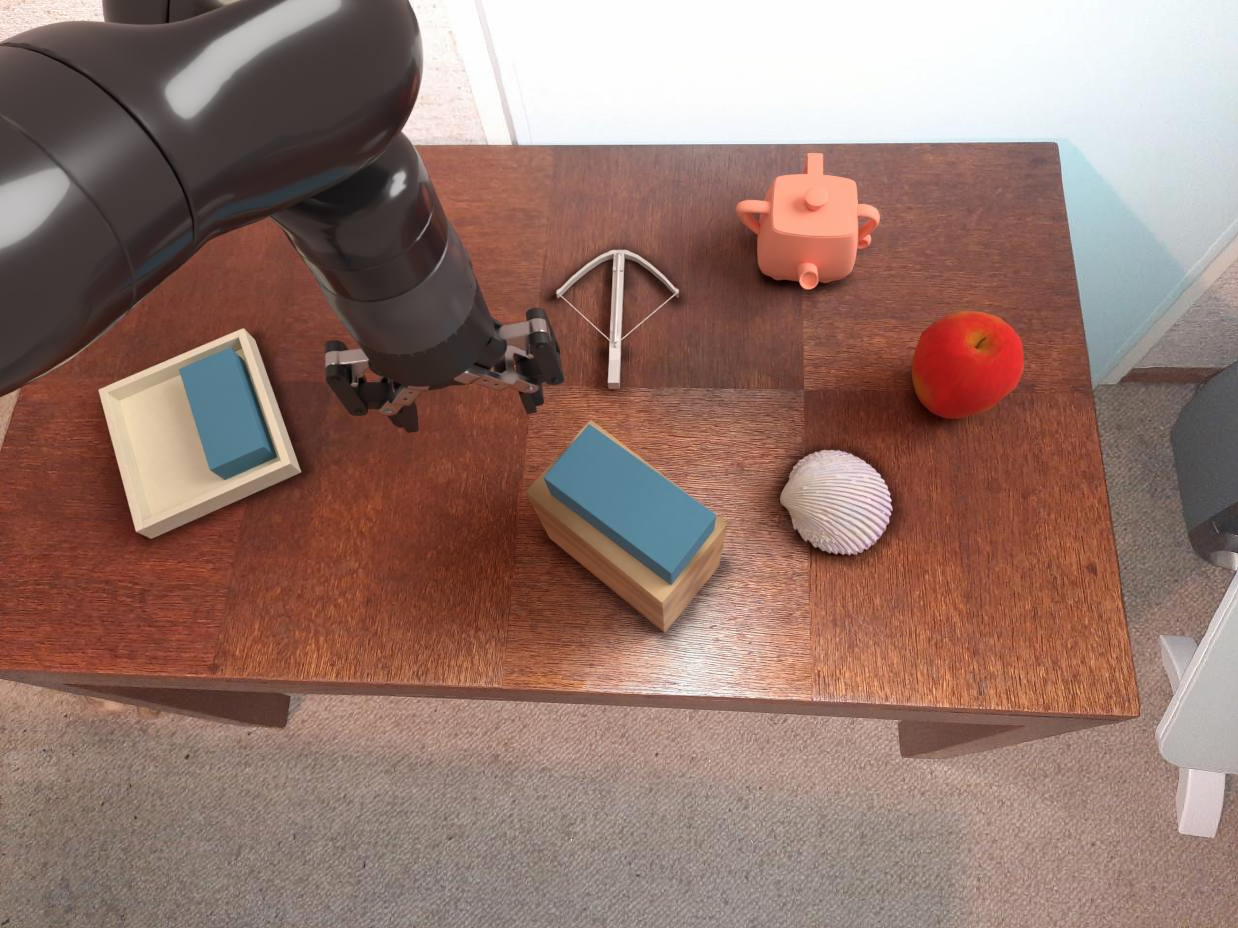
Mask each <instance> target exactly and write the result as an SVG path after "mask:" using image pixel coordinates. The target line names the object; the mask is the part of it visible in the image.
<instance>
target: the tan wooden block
mask: <svg viewBox="0 0 1238 928" xmlns="http://www.w3.org/2000/svg"><path fill="white" fill-rule="evenodd" d="M588 424H590V425H592V426H593V427H595V428H596V429H597V430H599V431H600V432H602V433H603V434H604V435H606V436H607V437H608V438H610V439H611V440H613V441H614V442H615V443H617V444H618V445H620V446H621V447H622V448H624V449H625V450H627V451H628V452H629V453H631V454H632V455H634V456H635V457H636V458H638V459H639V460H641V461H642V462H643V463H645V464H646V465H648V466H649V467H650V468H652V469H653V470H655V471H656V472H657V473H659V474H660V475H662V476H663V477H664V478H666V479H667V480H669V481H670V482H671V483H673V484H674V485H676V486H677V487H678V488H680V489H681V490H683V491H684V492H685V493H687V494H688V495H690V496H691V497H692V498H694V499H695V500H697V499H696V498H695V497H694V496H693V495H691V494H690V493H688V492H687V491H686V490H684V489H683V488H682V487H681V486H679V485H678V484H676V483H675V482H673V481H672V480H671V479H670V478H668V477H667V476H666V475H664V473H662V472H660V471H659V470H658V469H657V468H655V467H654V466H653V465H651V464H650V463H648V462H647V461H646V460H645V459H643V458H642V457H641V456H639V454H637V453H636V452H634V451H633V450H632V449H631V448H629V447H628V446H627V445H625V444H624V443H623V442H621V441H620V440H618V439H617V437H614V436H613V435H612V434H611V433H609V432H608V431H606V430H605V429H604V428H602V427H601V425H599V424H598V423H596V422H595V421H594V420H592V419H590V420H588V421H587V423H585V425H584V426H583V427H582V429H580V430H579V431H578V433H577V434H576V435H575V436H574V437H573V438H572V440H571V441H570V442H569V443H568V444H567V445H566V446H565V447H564V448H563V449H562V451H560V453H559V454H558V455H557V456H556V457H555V458H554V459H553V460H552V462H551V463H550V464H549V465H548V466H547V467H546V468H545V470H543V472H541V474H540V475H539V476H538V477H537V478H536V479H535V480H534V482H532V484H531V485H529V487H528V488H527V489H526V491H525V494H526V497H527V498H528V500H529V502H530V505H531V506H532V508H533V509H534V511H535V513H536V515H537V517H538V519H539V521H540V522H541V525H542V527H543V528H544V531H545V533H546V534H547V536H548V538H549V539H550V541H552V542H553V543H554V544H556V545H557V546H558V547H559V548H561V549H562V550H563V551H564V552H566V553H567V554H568V555H569V556H570V557H571V558H573V559H574V560H575V561H576V562H578V564H580V565H581V566H582V567H583V568H585V569H586V570H587V571H588V572H590V573H592V575H593V576H595V578H597V579H598V580H599V581H601V582H602V583H603V584H604V585H606V586H607V587H608V588H609V589H611V591H613V592H614V593H615V594H616V595H617V596H618V597H620V598H621V599H623V600H624V601H625V603H627V604H628V605H630V606H631V607H632V608H633V609H635V610H636V611H637V612H638V613H639V614H640V615H642V616H643V617H644V618H646V619H647V620H648V621H649V622H650V623H652V624H653V625H654V626H655V627H657V629H659V630H660V631H662V632H663V633H666V632H667V631H668V630H669V629H670V628H671V626H672V625H673V624H674V623H675V621H676V620H677V619H678V618H679V616H680V615H681V614H682V612H684V610H685V609H686V608H687V607H688V606H689V604H690V603H691V602H692V600H693V599H694V598H695V597H696V595H697V594H698V593H699V592H700V591H701V589H702V588H703V587H704V586H705V584H707V582H708V581H709V579H710V578H711V577H712V576H713V575H714V573H715V572H716V571H717V570H718V568H719V567H720V564H721V559H722V553H723V550H724V549H723V548H724V543H725V538H726V533H727V528H728V523H727V522H726V521H725V520H724V519H723V518H722V517H720V516H718V515H717V514H716V521H715V528H714V531H713V532H712V534H711V535H710V536H709V537H708V539H707V540H706V541H705V543H704V544H703V545H702V547H701V548H700V549H699V550H698V552H697V553H696V554H695V556H694V557H693V558H692V559H691V561H690V562H689V563H688V565H687V566H686V567H685V569H684V570H683V571H682V572H681V574H680V575H679V576H678V578H677V579H676V580H675V581H674V583H673V584H672V585H670V584H669V583H667V582H666V581H665V580H663V579H662V578H661V577H659V576H658V575H657V574H655V573H654V572H653V571H651V570H650V569H649V568H647V567H646V566H645V565H643V564H642V563H641V562H640V561H638V560H637V559H636V558H634V557H633V556H632V555H630V554H629V553H628V552H626V551H625V550H624V549H622V548H621V547H620V546H618V545H617V544H616V543H614V542H613V541H612V540H610V539H609V538H608V537H606V536H605V535H604V534H602V533H601V532H600V531H598V530H597V529H596V528H594V527H593V526H592V525H591V524H589V523H588V522H587V521H585V520H584V519H583V518H581V517H580V516H579V515H577V514H576V513H575V512H573V511H572V510H571V509H569V508H568V507H567V506H565V505H564V504H563V503H561V502H560V501H559V500H557V499H556V498H555V497H553V496H552V495H551V494H550V492H549V489H548V487H547V485H546V483H545V480H544V478H543V477H544V476H545V475H546V474H547V472H548V471H549V470H550V469H551V468H552V467H553V465H554V464H555V463H556V462H557V461H558V459H559V458H560V457H561V456H562V455H563V454H564V452H565V451H566V450H567V449H568V448H569V447H570V445H571V444H572V443H573V442H574V441H575V440H576V438H577V437H578V436H579V435H580V434H581V432H582V431H583V430H584V429H585V428H586V427H587V425H588ZM697 501H698V502H699V503H701V502H700V501H699V500H697ZM701 504H702V505H703V506H705V505H704V504H703V503H701ZM705 507H706V508H708V507H707V506H705Z"/></svg>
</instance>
